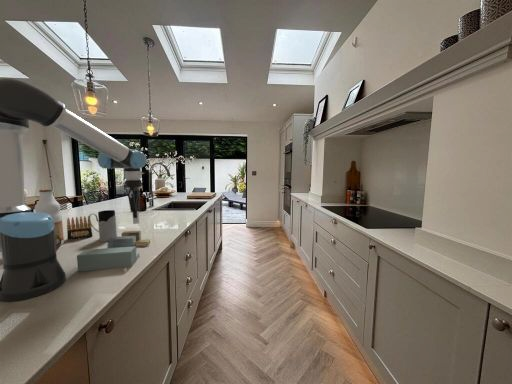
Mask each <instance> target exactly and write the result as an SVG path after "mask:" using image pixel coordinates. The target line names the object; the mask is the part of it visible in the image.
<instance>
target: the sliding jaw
mask: <svg viewBox="0 0 512 384" xmlns="http://www.w3.org/2000/svg"><path fill="white" fill-rule="evenodd" d="M121 236H136V248H138V247H148V246H149V245H150V244H151V239H147V238H146V239H142V231H141V230H129V231H122V232H121ZM106 247H107V248H108V243H107V244H106Z"/></svg>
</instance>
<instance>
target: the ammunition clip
mask: <svg viewBox="0 0 512 384" xmlns="http://www.w3.org/2000/svg"><path fill="white" fill-rule="evenodd" d="M66 231H67V232H66V233H67V241H72V240H79V239H78V238H80V239H86V238H92V237H93V236H94V235H93V227H92V226H91V224H90V222H89V215H87V217H86V216H84V217H83V218H82V216H80V217H79V218H78V216H76V217H75V219H74V217H73V216H72V217H71V221H70V218H69V217H67V219H66ZM71 239H72V240H71Z"/></svg>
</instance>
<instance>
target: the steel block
mask: <svg viewBox="0 0 512 384" xmlns="http://www.w3.org/2000/svg"><path fill="white" fill-rule="evenodd" d="M107 244H108V248H119V247H133V246H136V236H122V235H120V236H118V237H111V238H110V239H108V241H107ZM136 251H137V248H136Z"/></svg>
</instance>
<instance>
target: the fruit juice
mask: <svg viewBox="0 0 512 384" xmlns="http://www.w3.org/2000/svg"><path fill="white" fill-rule="evenodd" d="M38 192H39V195H40V196H39V200H38V201H37V203H36V204H35V206H34V212H35V213H37V212H40V213H46V214H49V215H50V216H51V217H52V218H53V223H54V226H55V227H54V232H55V234H56V235H58V236H60V238H61V245H60V246H62V245H64V243H65V237H64V227H63V226H64V225H63V218H62V214H61V204H60V203H59V202H58V201H57V200H56V198H55V195H54V194H53V193H54V189H53V188H41V189H39V190H38Z"/></svg>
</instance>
